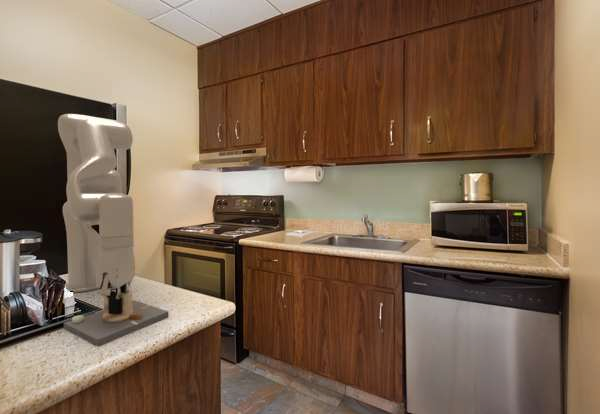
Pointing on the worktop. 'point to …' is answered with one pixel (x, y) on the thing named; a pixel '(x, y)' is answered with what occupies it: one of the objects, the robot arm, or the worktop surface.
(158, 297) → the worktop surface
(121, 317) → the levelling knob
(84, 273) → the robot arm
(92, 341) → the base plate
